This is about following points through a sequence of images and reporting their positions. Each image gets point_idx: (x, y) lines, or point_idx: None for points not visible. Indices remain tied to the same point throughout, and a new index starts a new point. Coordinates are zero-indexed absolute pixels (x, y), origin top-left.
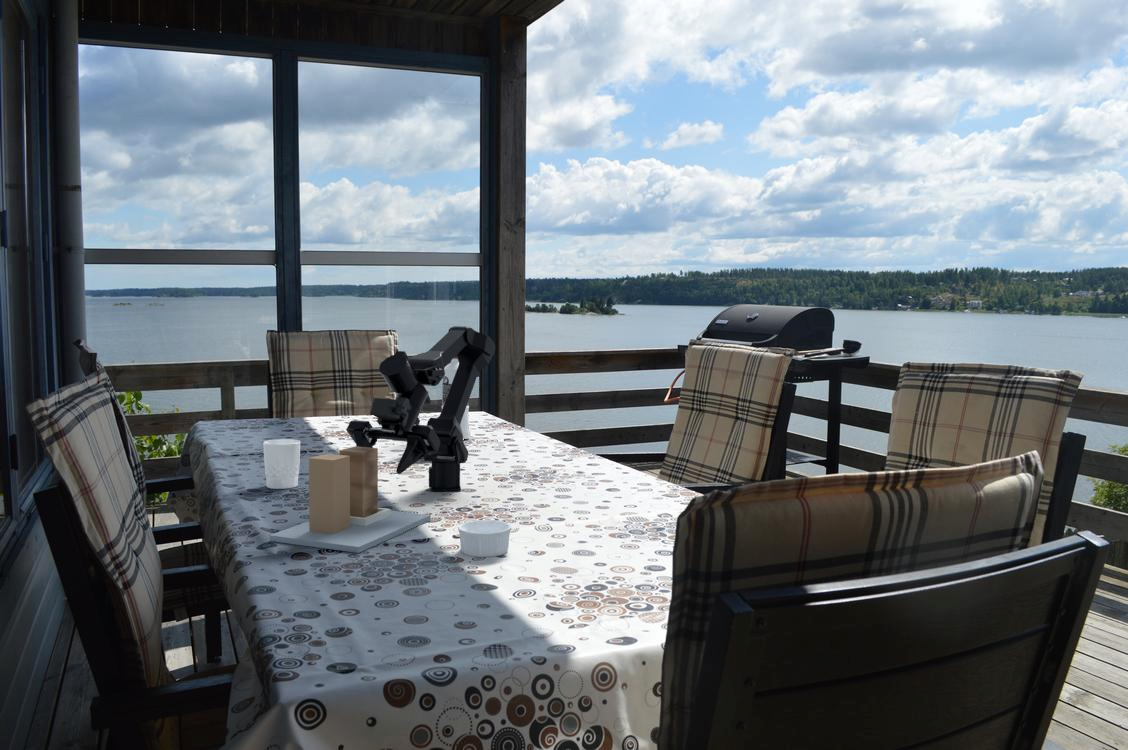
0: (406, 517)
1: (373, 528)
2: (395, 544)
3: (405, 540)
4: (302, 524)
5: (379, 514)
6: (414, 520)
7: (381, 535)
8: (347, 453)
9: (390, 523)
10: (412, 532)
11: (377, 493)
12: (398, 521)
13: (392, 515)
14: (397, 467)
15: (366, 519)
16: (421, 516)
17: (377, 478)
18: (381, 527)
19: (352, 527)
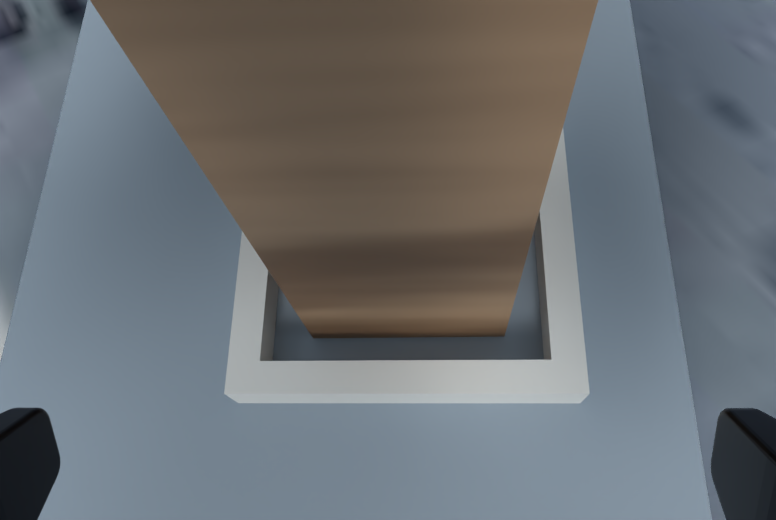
0: (107, 392)
1: None
2: (29, 23)
3: (4, 90)
4: (613, 4)
5: (243, 245)
6: (27, 341)
7: (99, 15)
8: None
9: (150, 219)
10: (15, 223)
11: (274, 274)
12: (120, 277)
13: (226, 404)
14: (4, 432)
15: None
16: None
17: (233, 212)
18: (162, 126)
19: None
